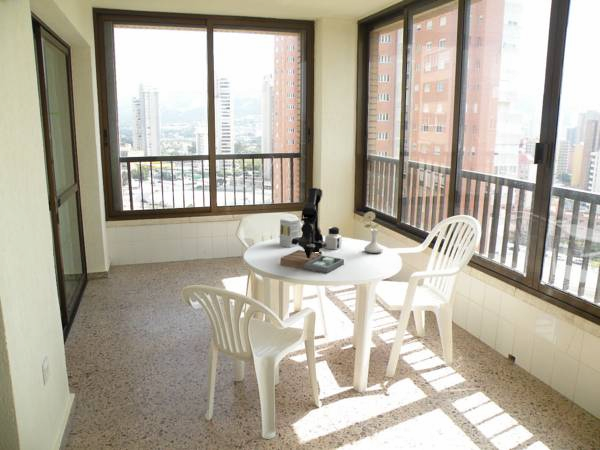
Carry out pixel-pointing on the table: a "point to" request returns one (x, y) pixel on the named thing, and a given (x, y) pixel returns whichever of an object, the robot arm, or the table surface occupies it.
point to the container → (333, 239)
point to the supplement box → (289, 231)
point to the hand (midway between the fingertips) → (308, 258)
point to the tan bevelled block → (298, 259)
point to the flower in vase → (373, 246)
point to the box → (327, 268)
